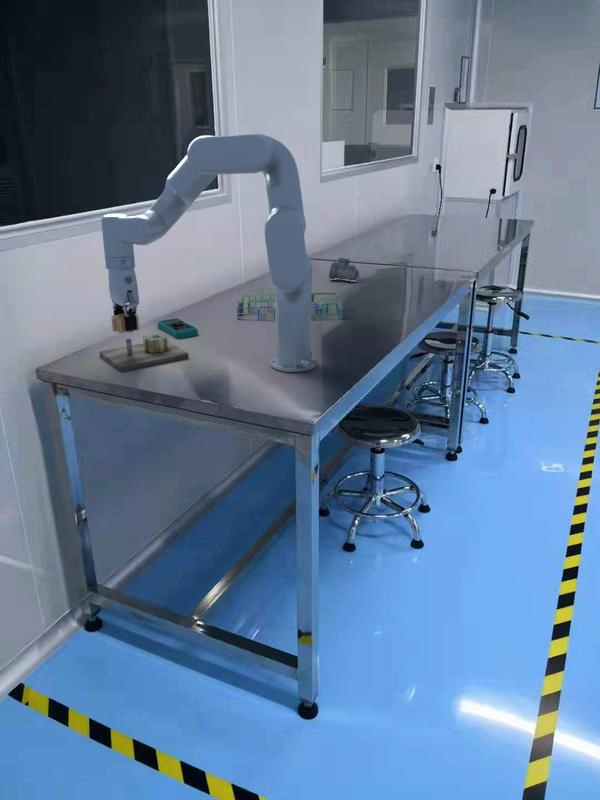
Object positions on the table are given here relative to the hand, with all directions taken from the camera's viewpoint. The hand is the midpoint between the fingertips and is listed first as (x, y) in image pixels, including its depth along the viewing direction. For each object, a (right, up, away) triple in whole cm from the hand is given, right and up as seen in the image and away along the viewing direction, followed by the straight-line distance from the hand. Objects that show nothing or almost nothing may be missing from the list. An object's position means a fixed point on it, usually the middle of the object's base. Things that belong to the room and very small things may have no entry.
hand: (125, 326), depth 178 cm
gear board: (+4, -8, +6) cm, 11 cm away
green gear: (+7, -6, +7) cm, 12 cm away
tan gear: (0, -1, 0) cm, 1 cm away
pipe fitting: (+67, +30, +101) cm, 125 cm away
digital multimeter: (+9, +1, +30) cm, 31 cm away
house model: (+44, +12, +57) cm, 73 cm away
